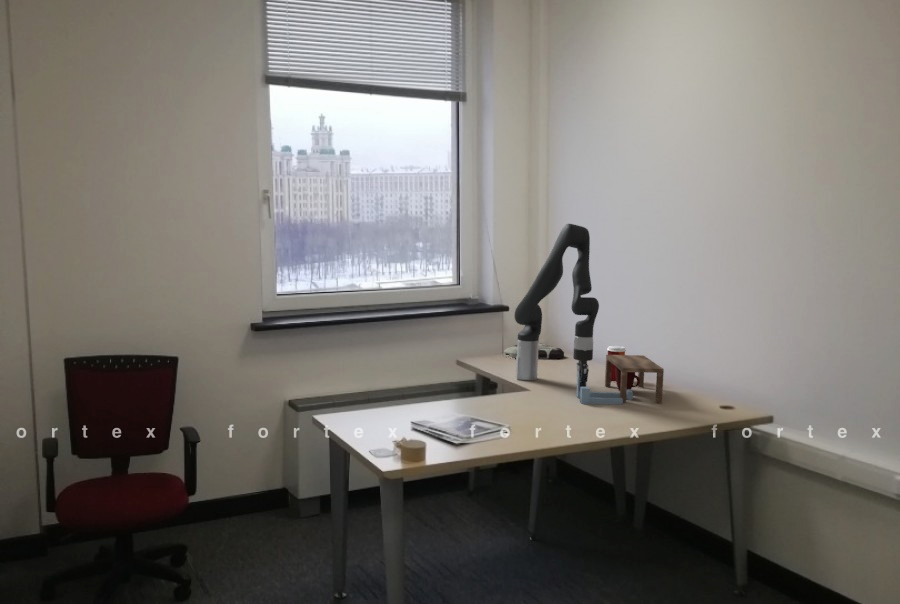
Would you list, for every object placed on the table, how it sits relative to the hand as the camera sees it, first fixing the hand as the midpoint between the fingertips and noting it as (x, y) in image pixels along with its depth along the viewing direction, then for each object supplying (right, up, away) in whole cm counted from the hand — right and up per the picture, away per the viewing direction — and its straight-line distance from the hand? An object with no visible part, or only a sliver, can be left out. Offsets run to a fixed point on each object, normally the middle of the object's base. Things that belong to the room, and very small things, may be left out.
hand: (581, 390), depth 311 cm
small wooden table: (+22, -2, +8) cm, 23 cm away
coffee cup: (+21, 0, +35) cm, 40 cm away
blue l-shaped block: (+6, -4, -9) cm, 12 cm away
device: (-7, +7, +94) cm, 95 cm away
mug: (+21, -2, +12) cm, 24 cm away
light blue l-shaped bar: (+9, -3, 0) cm, 9 cm away
